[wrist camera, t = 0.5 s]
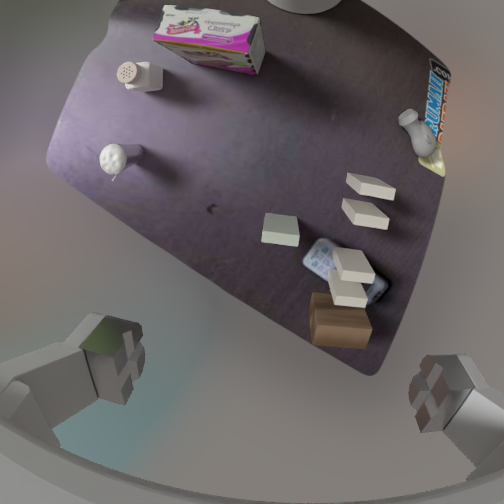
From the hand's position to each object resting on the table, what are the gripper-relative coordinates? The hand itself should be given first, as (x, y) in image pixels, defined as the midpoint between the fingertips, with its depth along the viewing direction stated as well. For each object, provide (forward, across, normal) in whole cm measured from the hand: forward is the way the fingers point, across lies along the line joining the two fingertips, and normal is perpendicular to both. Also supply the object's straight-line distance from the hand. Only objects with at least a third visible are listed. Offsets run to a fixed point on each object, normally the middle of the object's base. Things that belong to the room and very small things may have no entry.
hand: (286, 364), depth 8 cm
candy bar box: (+42, +10, -17) cm, 47 cm away
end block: (+43, -13, +22) cm, 50 cm away
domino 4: (+42, -13, +12) cm, 46 cm away
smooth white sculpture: (+43, -21, -10) cm, 49 cm away
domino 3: (+42, -13, +4) cm, 44 cm away
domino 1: (+42, -1, +8) cm, 43 cm away
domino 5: (+43, -13, +16) cm, 47 cm away
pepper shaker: (+42, +22, -13) cm, 50 cm away
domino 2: (+42, -13, 0) cm, 44 cm away
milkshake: (+43, +24, 0) cm, 49 cm away
